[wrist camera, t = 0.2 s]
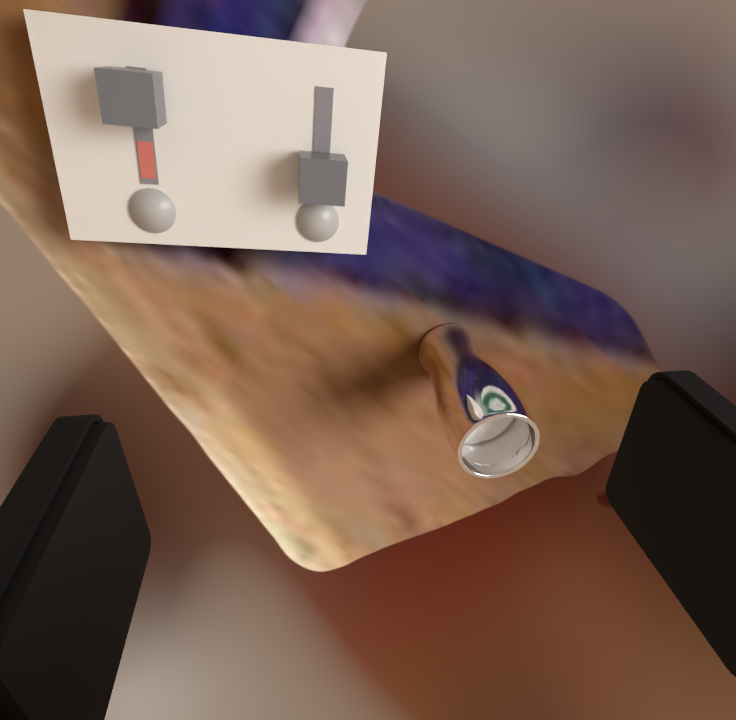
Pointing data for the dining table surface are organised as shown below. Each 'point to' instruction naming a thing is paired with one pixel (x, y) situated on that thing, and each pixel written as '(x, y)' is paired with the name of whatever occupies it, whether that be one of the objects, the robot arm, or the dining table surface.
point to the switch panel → (208, 135)
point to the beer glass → (477, 405)
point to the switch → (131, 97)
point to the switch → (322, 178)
